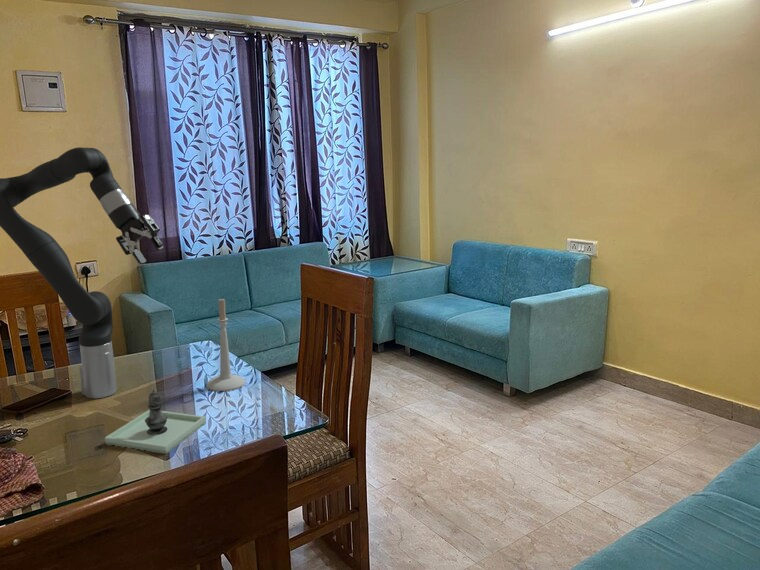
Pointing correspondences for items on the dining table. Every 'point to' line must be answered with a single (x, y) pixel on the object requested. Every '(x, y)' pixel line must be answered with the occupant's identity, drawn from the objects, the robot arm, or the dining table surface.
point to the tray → (163, 443)
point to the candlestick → (224, 360)
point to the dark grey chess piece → (155, 416)
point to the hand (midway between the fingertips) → (152, 256)
